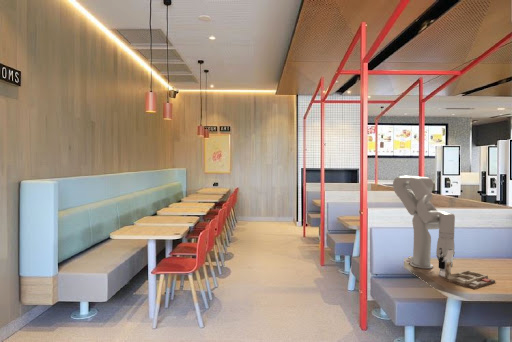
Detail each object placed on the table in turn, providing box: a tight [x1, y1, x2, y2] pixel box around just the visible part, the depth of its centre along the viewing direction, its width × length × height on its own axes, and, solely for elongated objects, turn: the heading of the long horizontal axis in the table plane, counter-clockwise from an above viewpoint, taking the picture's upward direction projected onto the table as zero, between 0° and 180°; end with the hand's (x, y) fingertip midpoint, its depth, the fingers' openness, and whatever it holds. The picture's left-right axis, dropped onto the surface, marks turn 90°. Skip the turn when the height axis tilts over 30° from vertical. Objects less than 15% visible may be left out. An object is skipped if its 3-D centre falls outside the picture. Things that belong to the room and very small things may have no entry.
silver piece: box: [438, 249, 454, 278], centre depth 200 cm, size 7×7×15 cm
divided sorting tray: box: [444, 270, 496, 290], centre depth 191 cm, size 15×21×3 cm
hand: (445, 267), depth 200 cm, fingers closed on silver piece, 6 cm apart
